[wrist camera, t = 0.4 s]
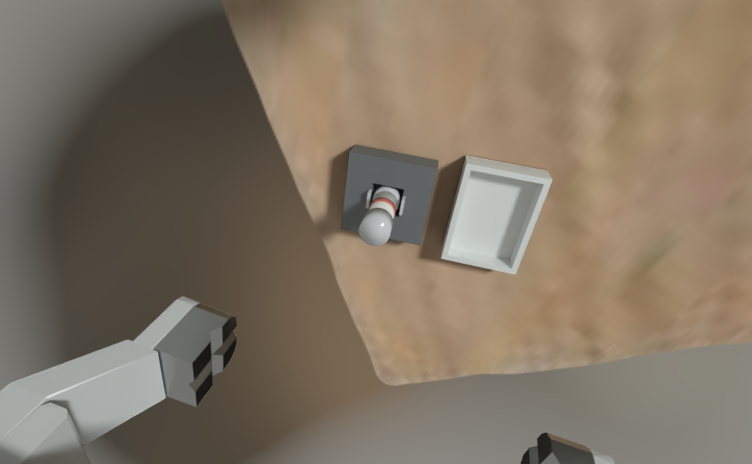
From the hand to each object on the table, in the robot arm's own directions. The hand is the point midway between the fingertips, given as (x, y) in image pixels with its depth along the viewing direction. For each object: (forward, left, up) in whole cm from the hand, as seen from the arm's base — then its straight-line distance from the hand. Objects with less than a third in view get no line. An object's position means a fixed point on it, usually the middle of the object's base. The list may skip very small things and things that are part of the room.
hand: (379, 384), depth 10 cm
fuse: (+15, -4, -46) cm, 48 cm away
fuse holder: (+15, -4, -47) cm, 49 cm away
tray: (+15, +11, -47) cm, 50 cm away
